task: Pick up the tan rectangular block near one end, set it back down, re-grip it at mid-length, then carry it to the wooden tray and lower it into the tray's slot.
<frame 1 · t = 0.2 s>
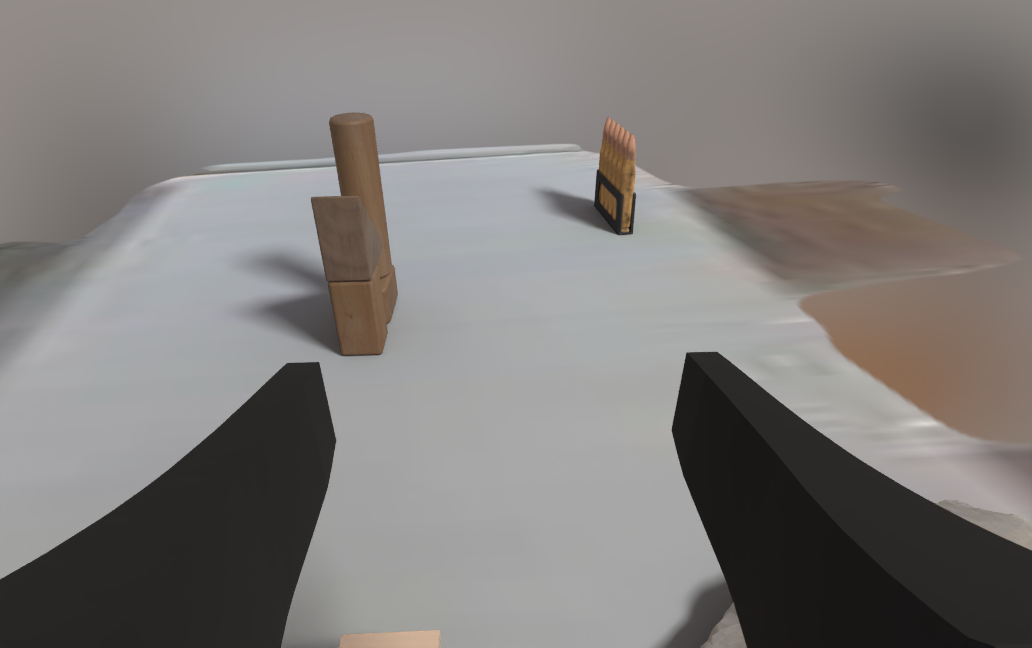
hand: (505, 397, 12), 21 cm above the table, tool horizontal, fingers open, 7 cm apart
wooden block: (372, 325, 56), on the table
ammunition clip: (612, 220, 78), on the table
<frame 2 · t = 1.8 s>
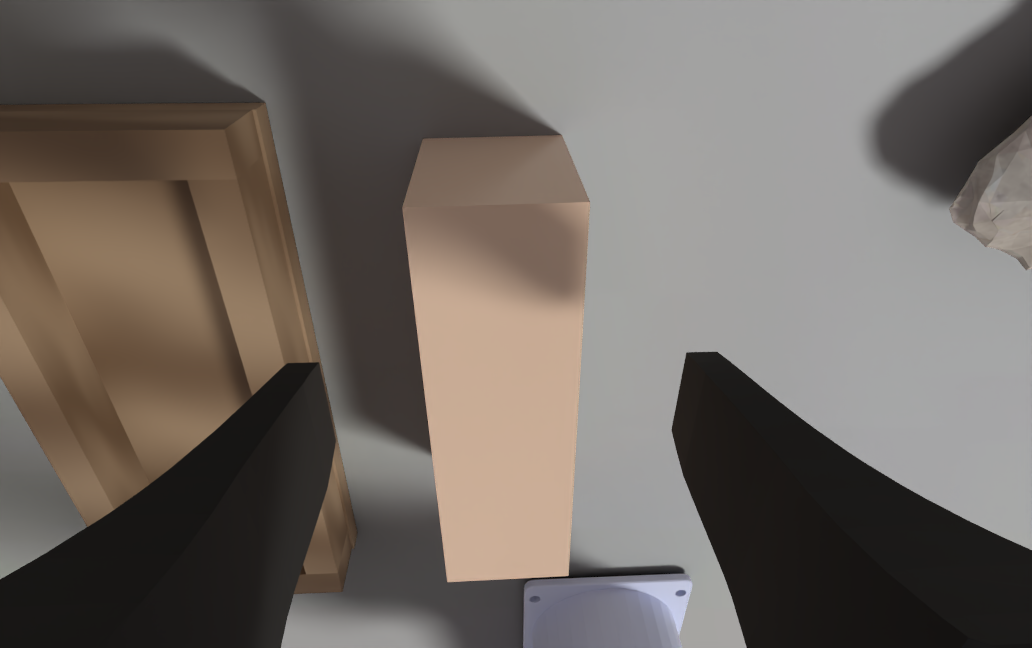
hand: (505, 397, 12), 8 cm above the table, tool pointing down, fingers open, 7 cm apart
tan rectangular block: (498, 323, 21), on the table
wooden tray: (201, 370, 21), on the table
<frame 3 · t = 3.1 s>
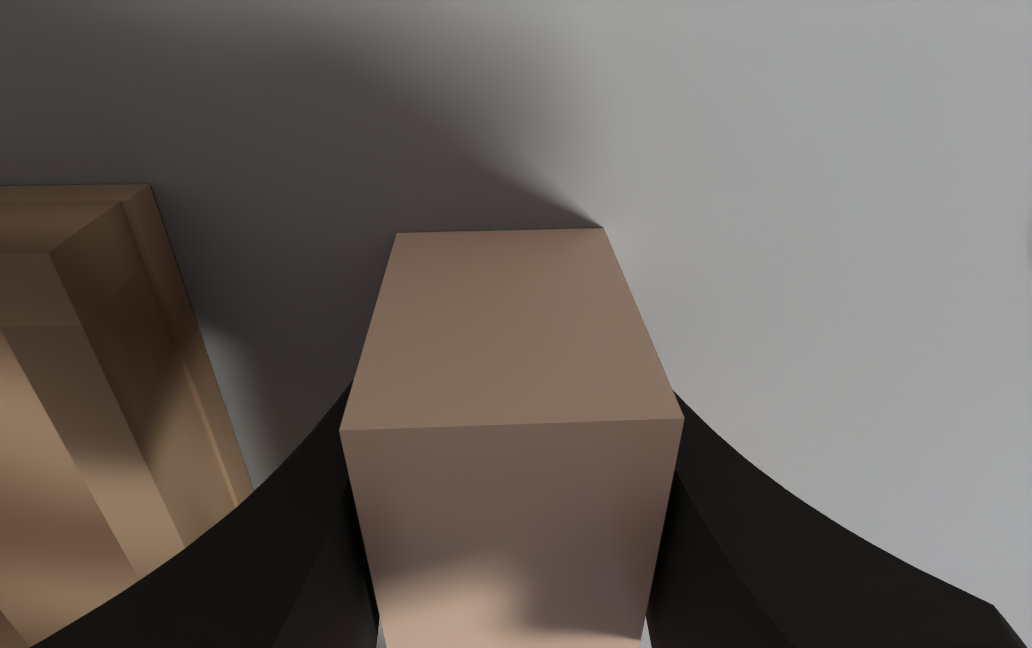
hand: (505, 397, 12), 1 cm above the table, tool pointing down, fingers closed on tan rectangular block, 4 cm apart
tan rectangular block: (505, 469, 15), on the table, touching gripper
wooden tray: (97, 524, 15), on the table
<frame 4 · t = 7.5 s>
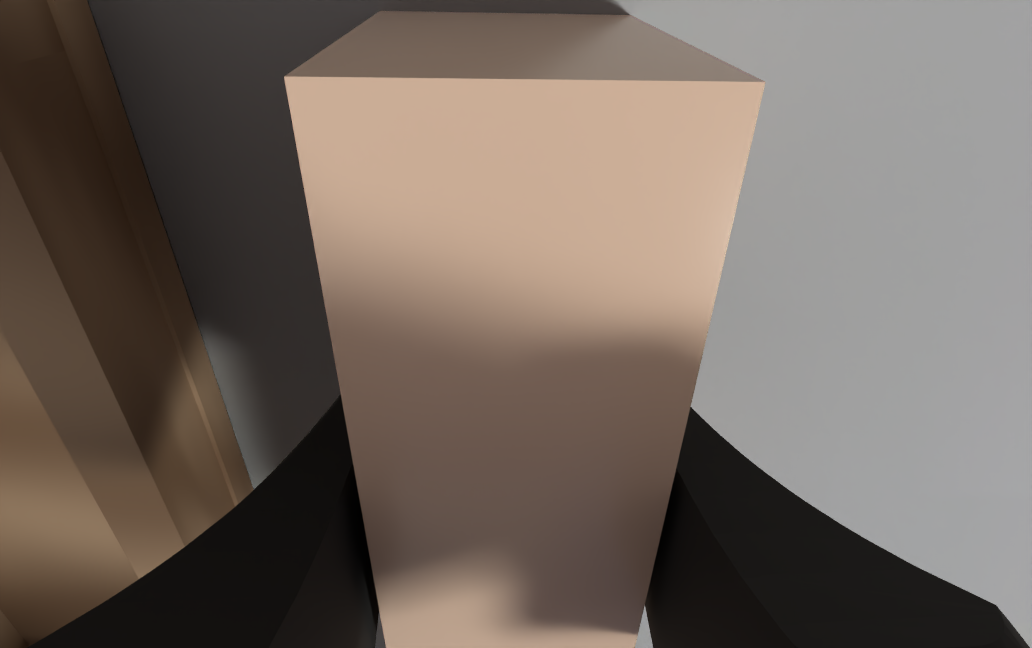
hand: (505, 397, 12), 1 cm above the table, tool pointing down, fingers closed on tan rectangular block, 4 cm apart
tan rectangular block: (503, 345, 13), on the table, touching gripper
wooden tray: (39, 422, 13), on the table
when the fingers open (3 cm above the table, at t = 10.6 s): tan rectangular block stays where it is, resting on wooden tray.
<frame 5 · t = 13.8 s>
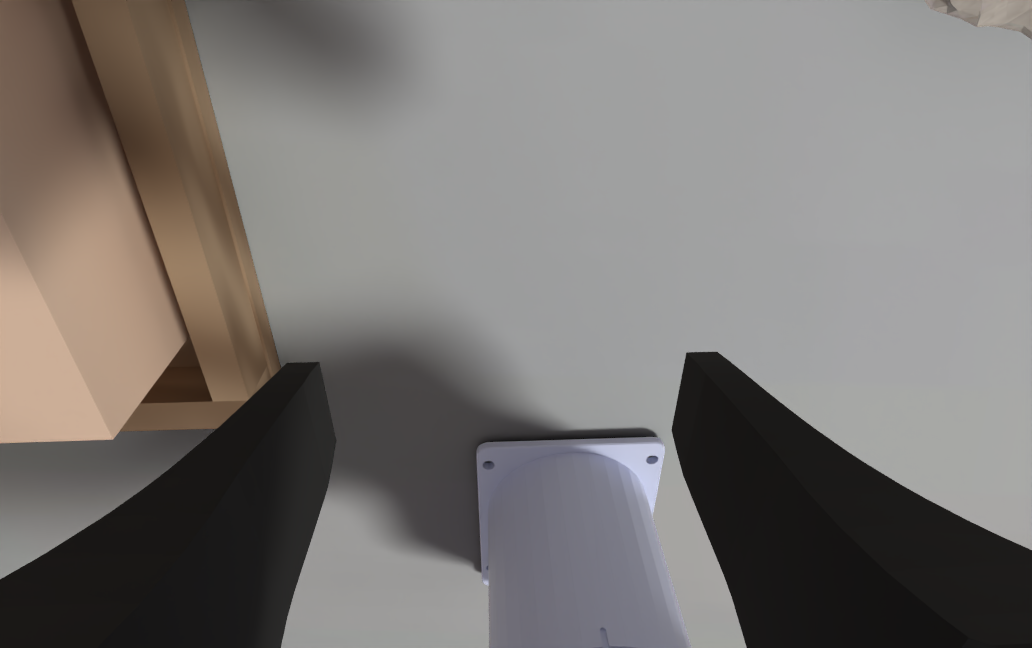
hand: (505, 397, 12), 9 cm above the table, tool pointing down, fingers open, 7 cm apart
tan rectangular block: (58, 139, 17), point 1 cm above the table, touching wooden tray
wooden tray: (79, 143, 18), on the table
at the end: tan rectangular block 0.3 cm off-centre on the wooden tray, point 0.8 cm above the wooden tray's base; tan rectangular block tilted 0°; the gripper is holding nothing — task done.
